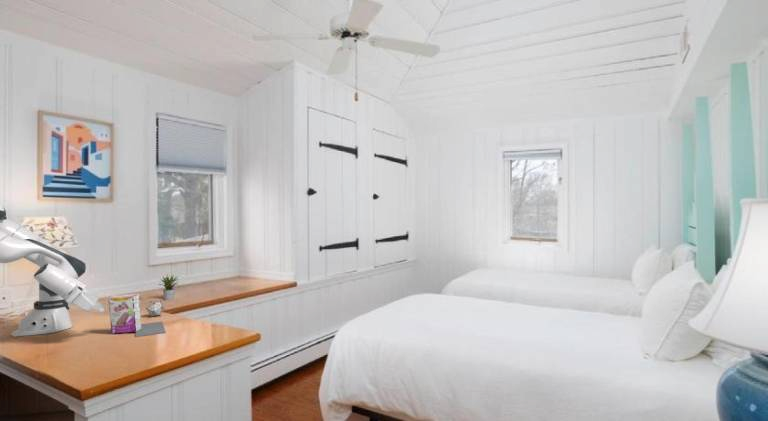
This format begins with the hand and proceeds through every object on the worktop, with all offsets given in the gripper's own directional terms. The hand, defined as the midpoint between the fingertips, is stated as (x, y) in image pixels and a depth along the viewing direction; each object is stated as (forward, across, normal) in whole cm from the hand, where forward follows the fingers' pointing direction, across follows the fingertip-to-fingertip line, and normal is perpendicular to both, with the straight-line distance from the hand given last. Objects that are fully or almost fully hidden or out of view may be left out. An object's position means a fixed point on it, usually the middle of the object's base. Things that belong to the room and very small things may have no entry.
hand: (103, 310), depth 190 cm
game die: (+23, -31, +4) cm, 39 cm away
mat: (+21, -1, +4) cm, 21 cm away
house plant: (+31, -83, +9) cm, 89 cm away
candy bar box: (+14, -1, -3) cm, 14 cm away
